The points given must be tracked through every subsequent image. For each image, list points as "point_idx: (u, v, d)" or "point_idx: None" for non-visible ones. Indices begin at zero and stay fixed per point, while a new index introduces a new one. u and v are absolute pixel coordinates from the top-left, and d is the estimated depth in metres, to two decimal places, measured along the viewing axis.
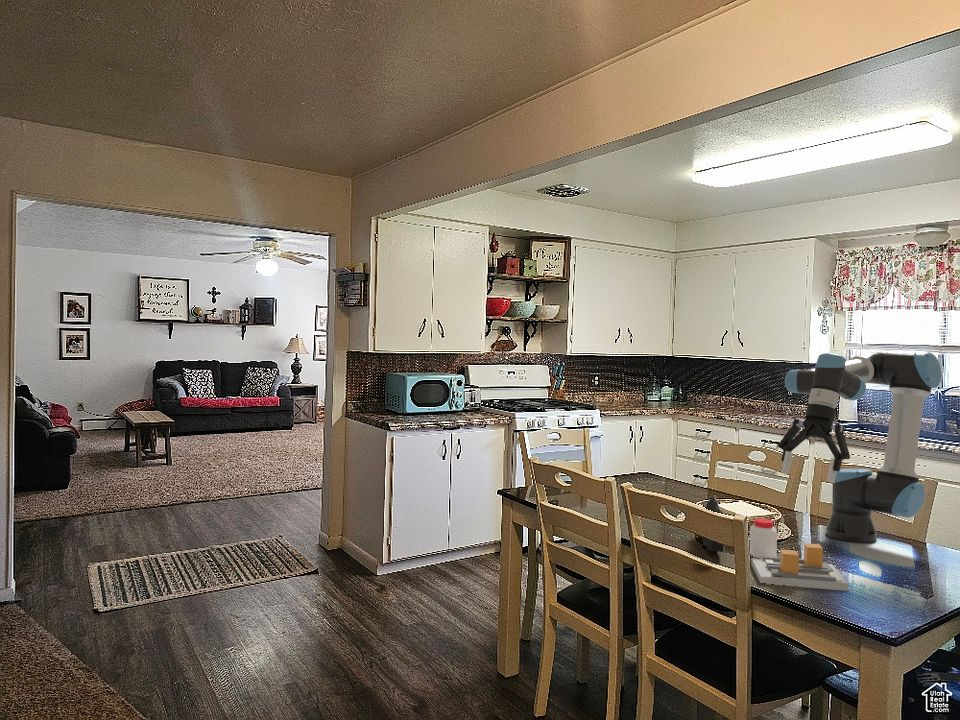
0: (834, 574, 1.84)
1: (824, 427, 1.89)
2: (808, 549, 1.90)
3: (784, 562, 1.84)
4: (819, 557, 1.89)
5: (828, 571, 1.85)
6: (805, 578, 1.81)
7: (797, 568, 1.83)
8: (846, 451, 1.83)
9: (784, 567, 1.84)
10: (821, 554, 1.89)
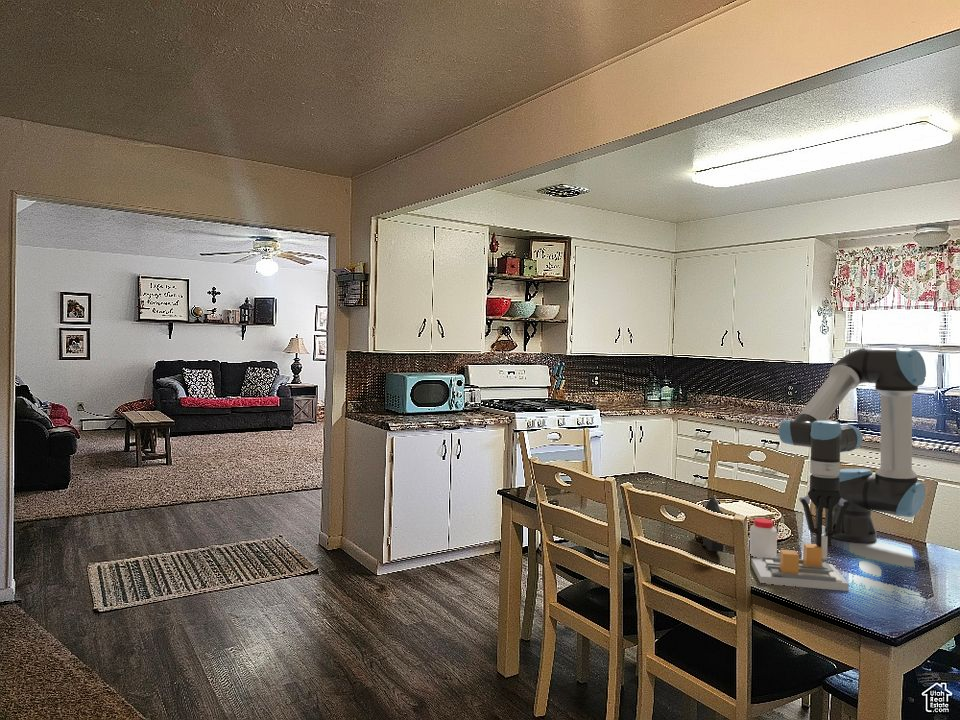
0: (834, 574, 1.84)
1: (834, 497, 1.88)
2: (807, 549, 1.90)
3: (784, 562, 1.84)
4: (818, 557, 1.89)
5: (828, 571, 1.85)
6: (805, 578, 1.81)
7: (797, 568, 1.83)
8: None
9: (784, 567, 1.84)
10: (820, 554, 1.89)
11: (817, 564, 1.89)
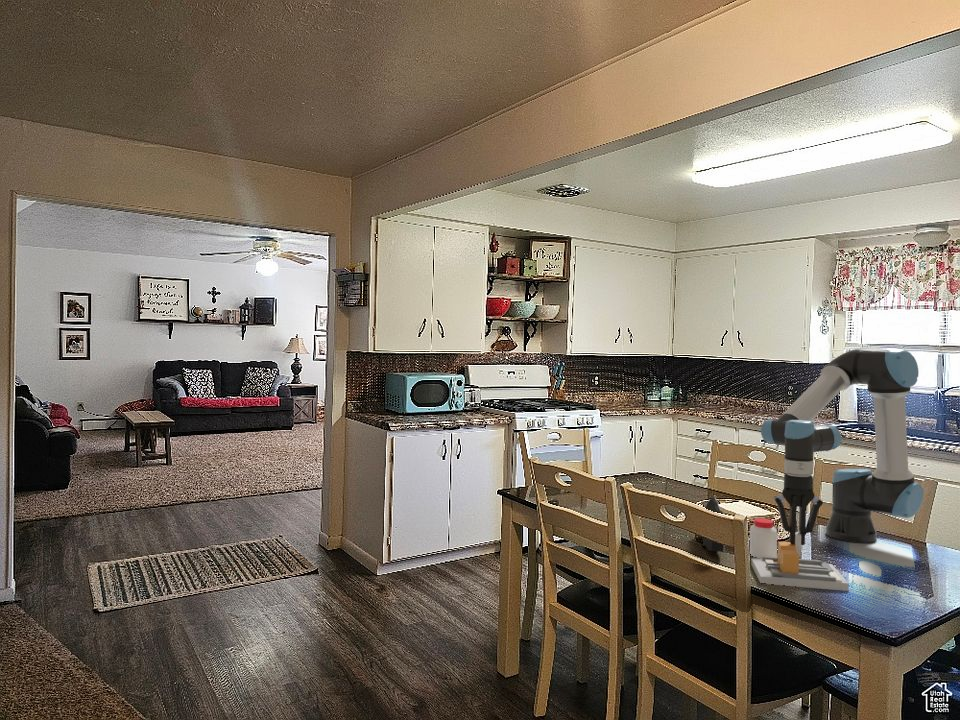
0: (834, 574, 1.84)
1: (808, 496, 1.90)
2: (781, 547, 1.91)
3: (784, 562, 1.84)
4: None
5: (828, 571, 1.85)
6: (805, 578, 1.81)
7: (797, 568, 1.83)
8: None
9: (784, 567, 1.84)
10: None
11: None
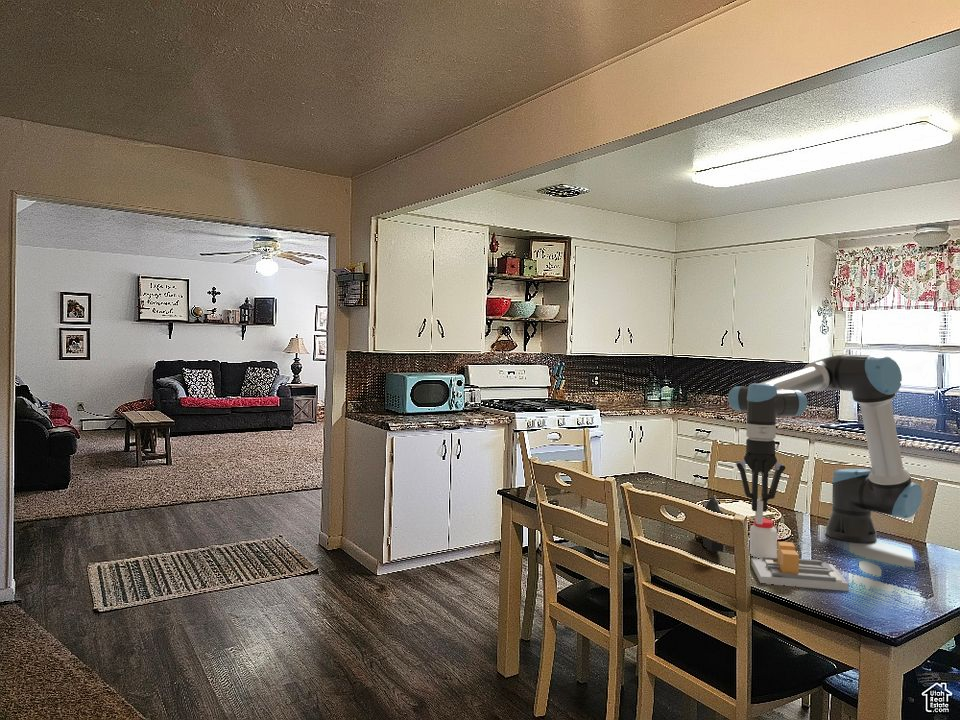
0: (834, 574, 1.84)
1: (770, 461, 1.85)
2: (781, 547, 1.91)
3: (784, 562, 1.84)
4: None
5: (828, 571, 1.85)
6: (805, 578, 1.81)
7: (797, 568, 1.83)
8: None
9: (784, 567, 1.84)
10: None
11: None
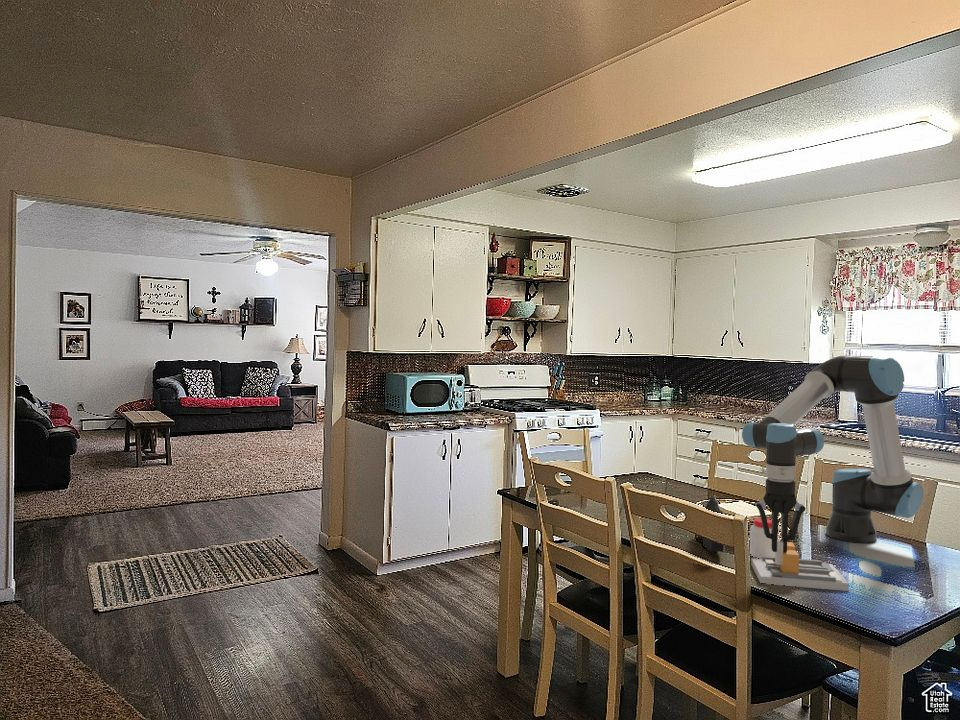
0: (834, 574, 1.84)
1: (790, 502, 1.84)
2: None
3: (784, 562, 1.84)
4: None
5: (828, 571, 1.85)
6: (805, 578, 1.81)
7: (797, 568, 1.83)
8: None
9: (784, 567, 1.84)
10: None
11: None
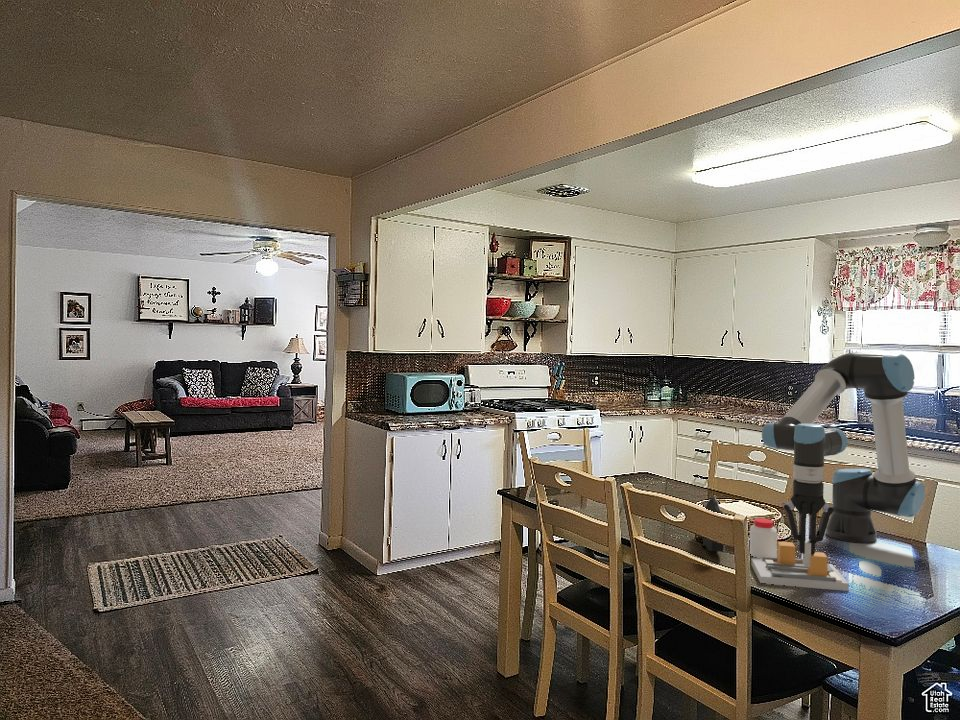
0: (834, 574, 1.84)
1: (818, 503, 1.82)
2: (781, 547, 1.91)
3: (812, 564, 1.82)
4: (791, 555, 1.91)
5: (828, 571, 1.85)
6: (805, 578, 1.81)
7: (826, 570, 1.81)
8: None
9: (812, 569, 1.82)
10: (794, 552, 1.91)
11: (790, 562, 1.91)
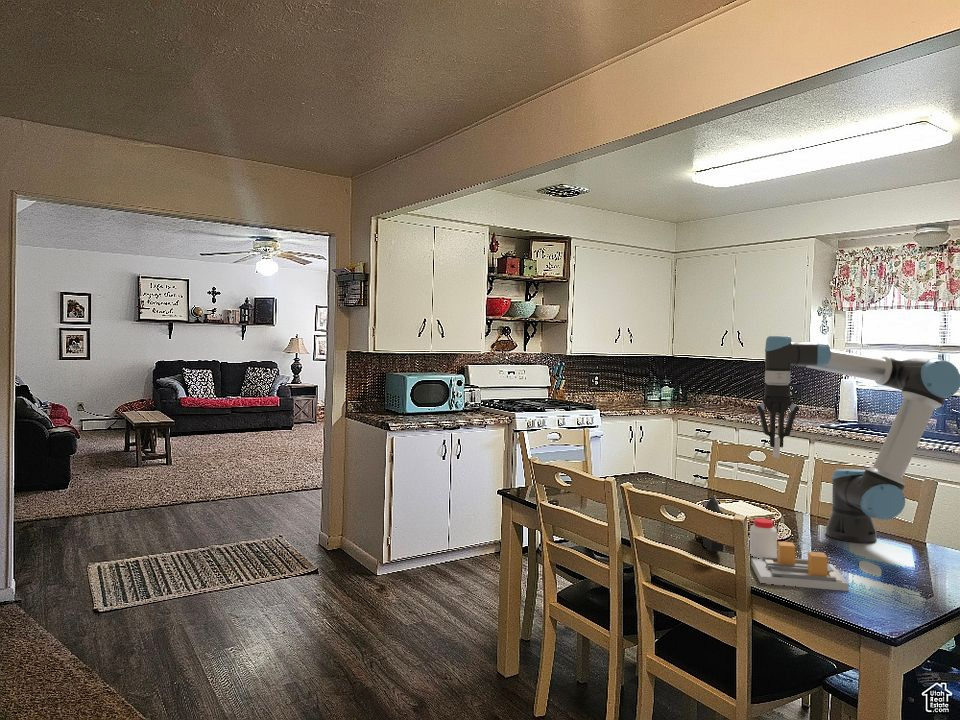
0: (834, 574, 1.84)
1: (785, 403, 2.12)
2: (781, 547, 1.91)
3: (812, 564, 1.82)
4: (791, 555, 1.91)
5: (828, 571, 1.85)
6: (805, 578, 1.81)
7: (826, 570, 1.81)
8: None
9: (812, 569, 1.82)
10: (794, 552, 1.91)
11: (790, 562, 1.91)
